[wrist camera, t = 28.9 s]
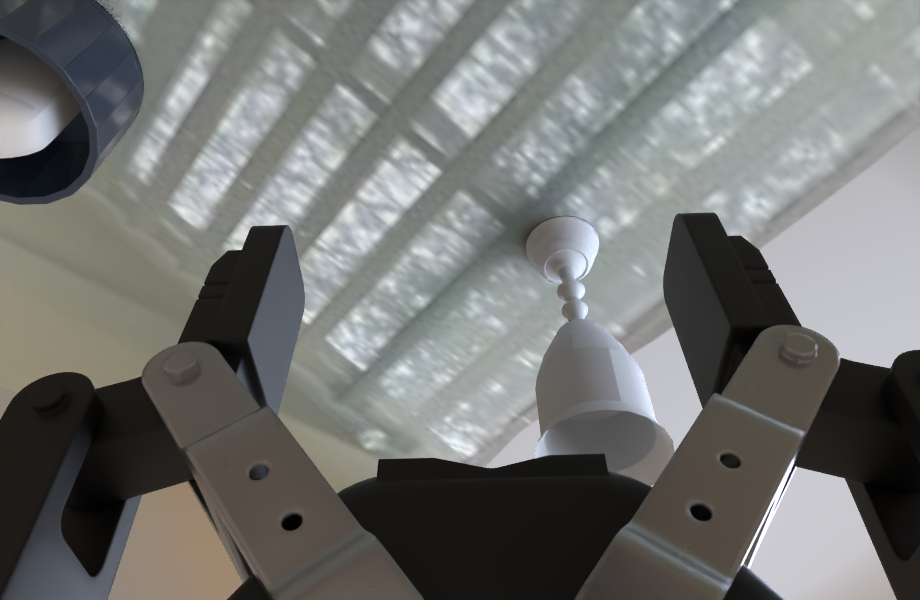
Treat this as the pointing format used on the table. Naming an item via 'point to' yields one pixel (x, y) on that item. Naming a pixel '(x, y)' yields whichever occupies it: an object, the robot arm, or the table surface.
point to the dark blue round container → (90, 81)
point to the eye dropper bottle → (30, 102)
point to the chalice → (590, 369)
